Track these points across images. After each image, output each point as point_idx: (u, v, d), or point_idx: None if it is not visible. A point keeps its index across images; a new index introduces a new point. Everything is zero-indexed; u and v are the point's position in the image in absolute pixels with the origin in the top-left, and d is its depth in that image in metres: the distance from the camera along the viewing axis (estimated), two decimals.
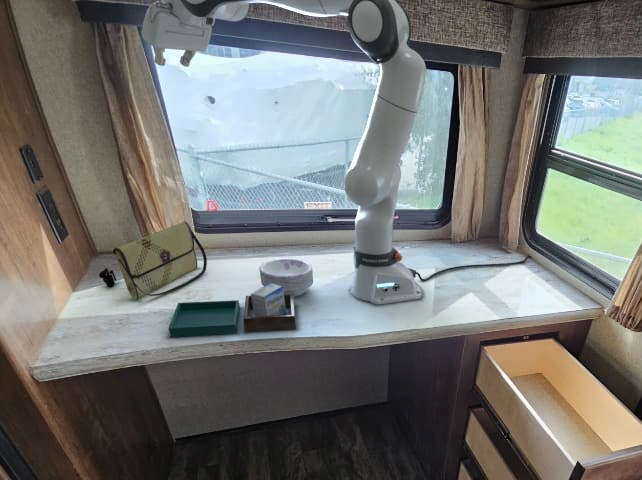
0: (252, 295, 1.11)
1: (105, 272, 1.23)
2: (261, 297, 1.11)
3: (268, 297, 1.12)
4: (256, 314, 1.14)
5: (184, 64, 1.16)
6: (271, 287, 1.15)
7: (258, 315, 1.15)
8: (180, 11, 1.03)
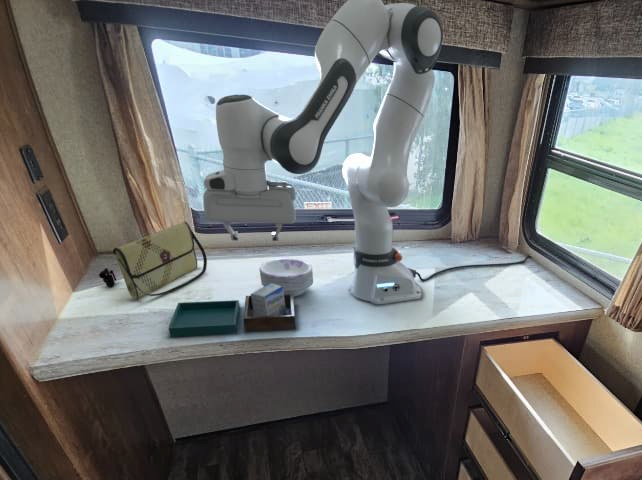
0: (252, 295, 1.11)
1: (105, 272, 1.23)
2: (261, 297, 1.11)
3: (268, 297, 1.12)
4: (256, 314, 1.14)
5: (238, 237, 1.05)
6: (271, 287, 1.15)
7: (258, 315, 1.15)
8: None
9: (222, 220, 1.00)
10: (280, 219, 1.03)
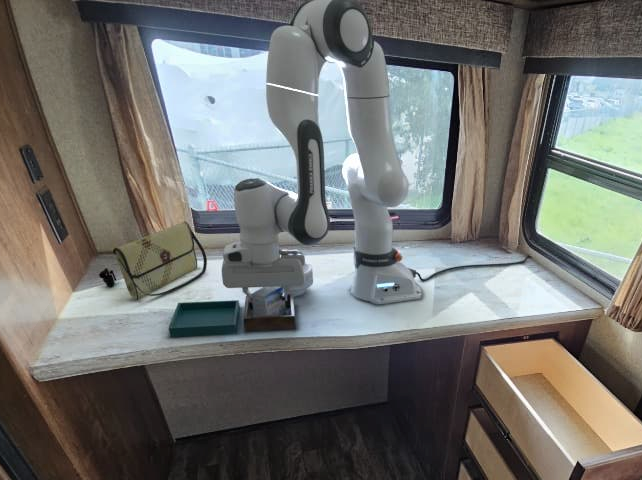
0: (252, 295, 1.11)
1: (105, 272, 1.23)
2: (261, 297, 1.11)
3: (268, 297, 1.12)
4: (256, 314, 1.14)
5: None
6: (271, 287, 1.15)
7: (258, 315, 1.15)
8: None
9: (238, 286, 1.10)
10: (291, 283, 1.13)
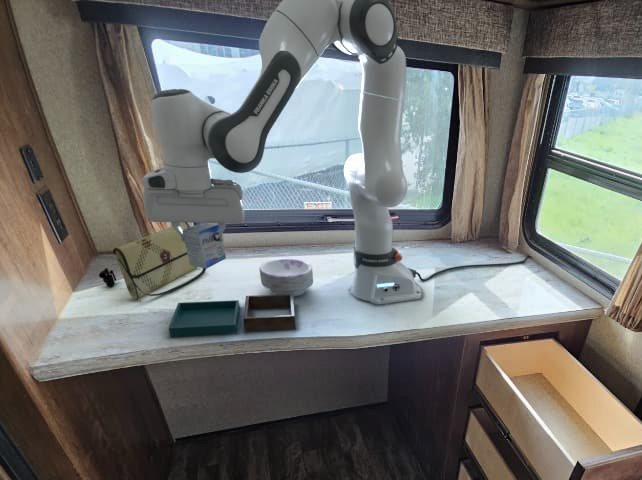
0: (184, 232, 0.98)
1: (105, 272, 1.23)
2: (194, 234, 0.98)
3: (202, 233, 0.99)
4: (190, 254, 1.01)
5: None
6: (206, 224, 1.02)
7: (192, 256, 1.01)
8: None
9: (165, 220, 0.96)
10: (227, 219, 1.00)
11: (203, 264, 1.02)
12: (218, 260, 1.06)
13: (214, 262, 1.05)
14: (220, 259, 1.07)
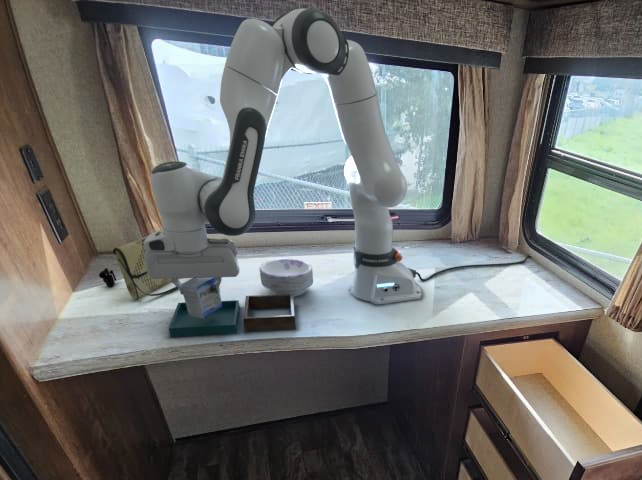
0: (182, 287, 1.05)
1: (105, 272, 1.23)
2: (192, 289, 1.05)
3: (200, 288, 1.06)
4: (189, 306, 1.08)
5: None
6: None
7: (191, 308, 1.09)
8: None
9: (165, 277, 1.04)
10: (223, 273, 1.07)
11: (201, 315, 1.09)
12: (215, 309, 1.13)
13: (211, 312, 1.12)
14: (217, 308, 1.14)
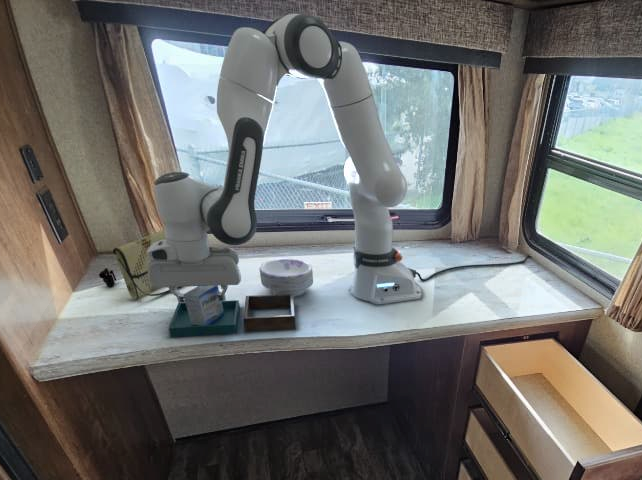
0: (185, 296, 1.07)
1: (105, 272, 1.23)
2: (194, 298, 1.06)
3: (202, 296, 1.07)
4: (191, 315, 1.10)
5: None
6: (205, 286, 1.11)
7: (193, 316, 1.10)
8: None
9: (167, 286, 1.05)
10: (225, 282, 1.08)
11: (203, 323, 1.11)
12: (217, 317, 1.15)
13: (213, 320, 1.13)
14: (219, 316, 1.15)
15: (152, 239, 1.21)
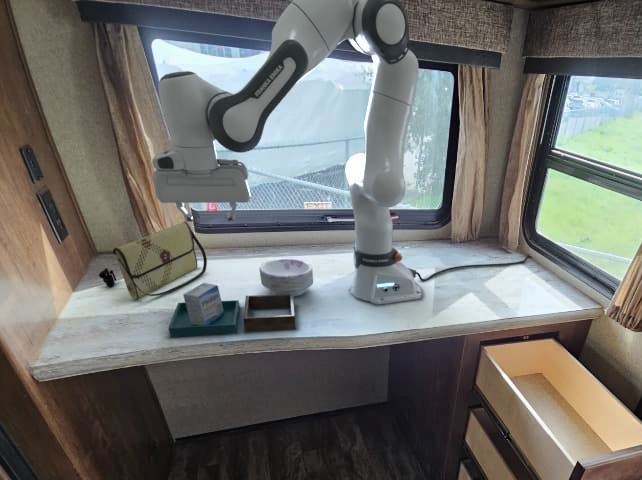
0: (185, 296, 1.07)
1: (105, 272, 1.23)
2: (194, 298, 1.06)
3: (202, 296, 1.07)
4: (191, 315, 1.10)
5: (192, 218, 1.05)
6: (205, 286, 1.11)
7: (193, 316, 1.10)
8: None
9: (174, 201, 1.00)
10: (234, 198, 1.03)
11: (203, 323, 1.11)
12: (217, 317, 1.15)
13: (213, 320, 1.13)
14: (219, 316, 1.15)
15: (152, 239, 1.21)
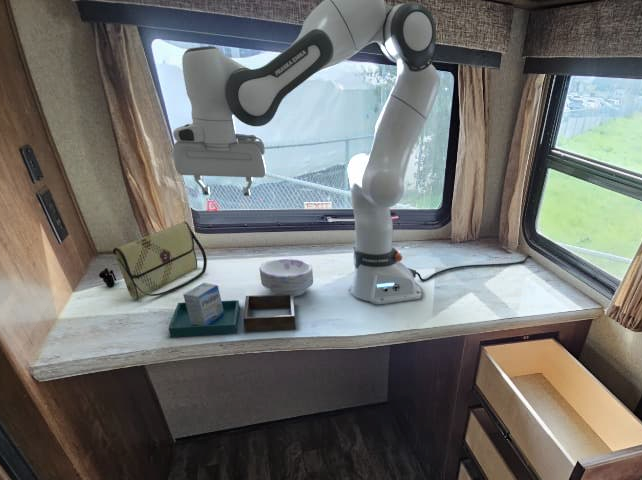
0: (185, 296, 1.07)
1: (105, 272, 1.23)
2: (194, 298, 1.06)
3: (202, 296, 1.07)
4: (191, 315, 1.10)
5: (209, 192, 1.08)
6: (205, 286, 1.11)
7: (193, 316, 1.10)
8: None
9: (193, 173, 1.03)
10: (250, 173, 1.06)
11: (203, 323, 1.11)
12: (217, 317, 1.15)
13: (213, 320, 1.13)
14: (219, 316, 1.15)
15: (152, 239, 1.21)
